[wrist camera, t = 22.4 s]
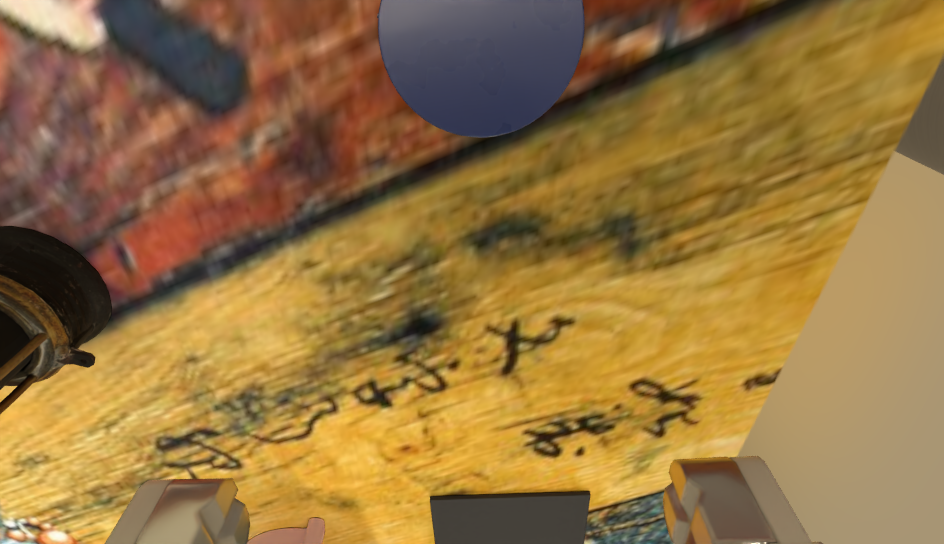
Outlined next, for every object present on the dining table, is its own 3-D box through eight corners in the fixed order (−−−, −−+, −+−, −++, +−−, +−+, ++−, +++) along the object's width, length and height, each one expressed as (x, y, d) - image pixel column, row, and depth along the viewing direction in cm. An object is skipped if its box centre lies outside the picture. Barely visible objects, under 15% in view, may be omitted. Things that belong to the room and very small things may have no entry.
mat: (589, 491, 47) (590, 495, 46) (577, 577, 54) (578, 581, 54) (430, 496, 47) (429, 500, 46) (440, 582, 54) (440, 586, 54)
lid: (579, -90, 16) (595, -94, 14) (566, 116, 19) (577, 135, 17) (375, -82, 16) (362, -85, 14) (396, 122, 19) (389, 142, 17)
